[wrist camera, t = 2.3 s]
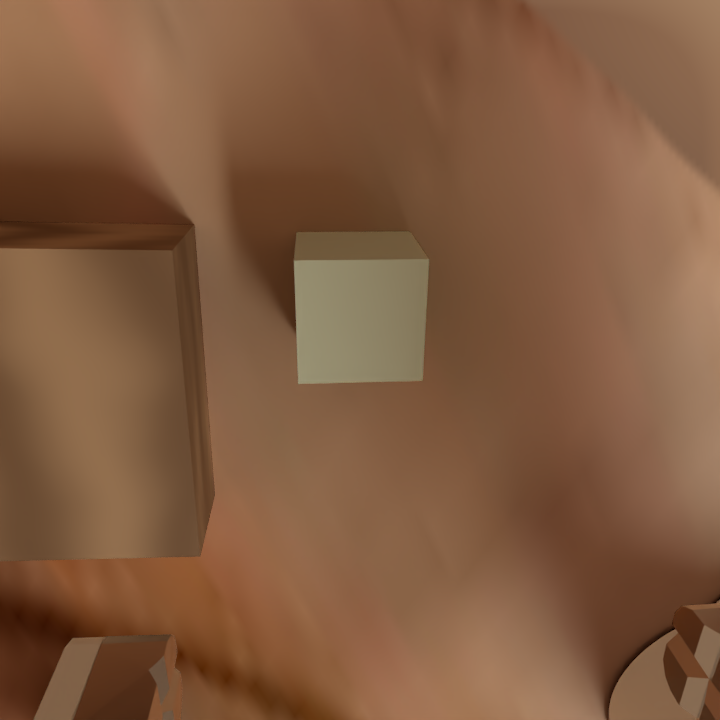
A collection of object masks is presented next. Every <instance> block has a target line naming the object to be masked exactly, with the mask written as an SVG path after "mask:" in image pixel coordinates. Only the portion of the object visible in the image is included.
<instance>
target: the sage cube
mask: <svg viewBox="0 0 720 720" xmlns="http://www.w3.org/2000/svg"><path fill="white" fill-rule="evenodd" d="M428 274H429V258H428V257H427V255H426V254H425V252H424V251H423V249H422V248H421V247H420V245H419V244H418V242H417V241H416V239H415V238H414V237H413V235H412V234H411V232H410V231H377V232H296V243H295V254H294V278H295V307H296V336H297V366H298V384H316V383H358V382H399V381H423V366H424V348H425V330H426V311H427V293H428Z"/></svg>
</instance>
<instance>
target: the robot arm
mask: <svg viewBox="0 0 720 720" xmlns="http://www.w3.org/2000/svg"><path fill="white" fill-rule="evenodd" d="M672 624H673V626H674V627H675V630H673V631H671V632H669V633H668V634H666V635H664V636H663V637H661V638H660V639H658V640H657V641H656V642H654V643H653V644H651V645H650V646H649V647H648V648H646V649H645V650H644V651H643V652H642V653H641V654H640V655H639V656H638V657H637V658H636V659H635V660H634V661H633V662H632V663H631V664H630V665H629V666H628V668H627V669H626V670H625V671H624V673H623V674H622V676H621V677H620V679H619V681H618V682H617V684H616V686H615V689H614V691H613V694H612V697H611V700H610V705H609V720H720V600H719V601H718V602H717V603H715V604H701V605H686V606H681V607H680V608H679V609H678V610H677V611H676V612H675V615H674V619H673V622H672ZM176 656H177V647H176V641H175V636H173V635H138V636H107V637H89V638H72V640H71V641H70V642H69V643H68V644H67V645H66V647H65V648H64V650H63V652H62V655H61V657H60V659H59V662H58V664H57V666H56V669H55V671H54V673H53V676H52V678H51V680H50V682H49V685H48V687H47V689H46V692H45V694H44V696H43V699H42V701H41V703H40V706H39V708H38V710H37V712H36V715H35V717H34V719H33V720H181V709H182V681H181V673H180V672H179V671H178V670H177V669H176V668H174V665H175V661H176Z"/></svg>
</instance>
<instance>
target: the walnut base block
mask: <svg viewBox="0 0 720 720" xmlns="http://www.w3.org/2000/svg"><path fill="white" fill-rule="evenodd" d="M214 496H215V491H214V478H213V464H212V451H211V438H210V425H209V411H208V398H207V385H206V372H205V358H204V345H203V332H202V319H201V306H200V292H199V279H198V266H197V253H196V239H195V226H194V224H127V223H60V222H0V561H30V560H71V559H112V558H153V557H195V556H200V555H201V551H202V547H203V542H204V538H205V534H206V530H207V526H208V521H209V517H210V513H211V509H212V505H213V500H214Z"/></svg>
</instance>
